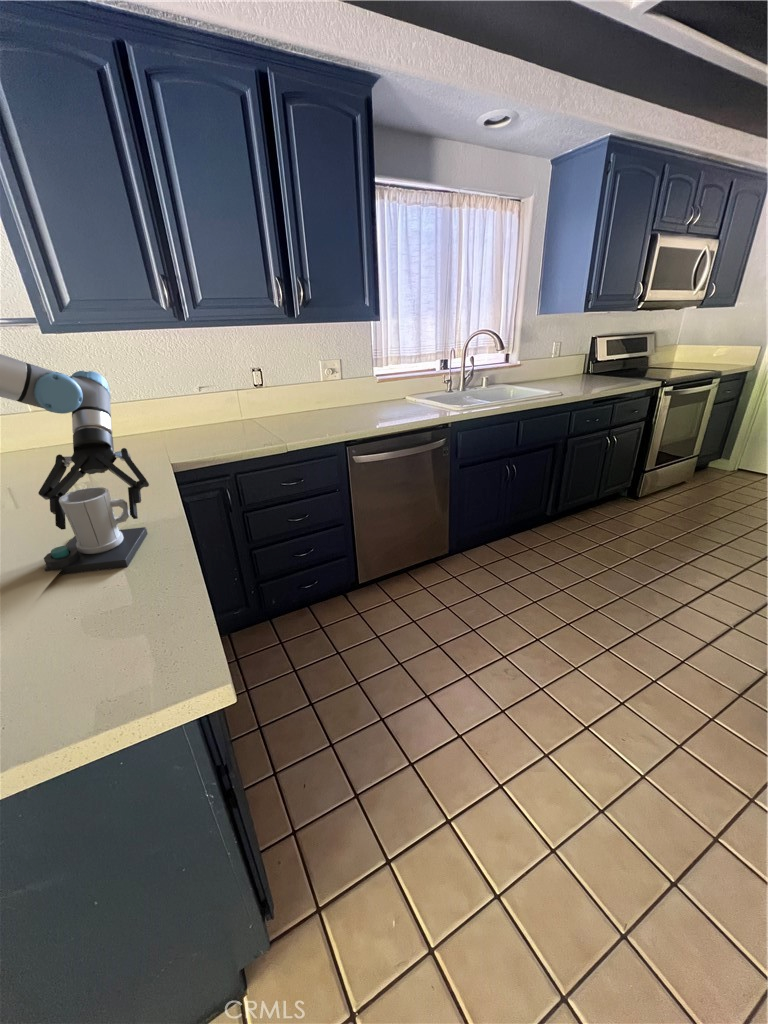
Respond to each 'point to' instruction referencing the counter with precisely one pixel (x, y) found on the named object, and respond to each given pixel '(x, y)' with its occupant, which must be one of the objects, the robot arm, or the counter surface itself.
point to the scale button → (59, 552)
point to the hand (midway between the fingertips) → (98, 522)
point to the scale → (98, 555)
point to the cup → (94, 519)
